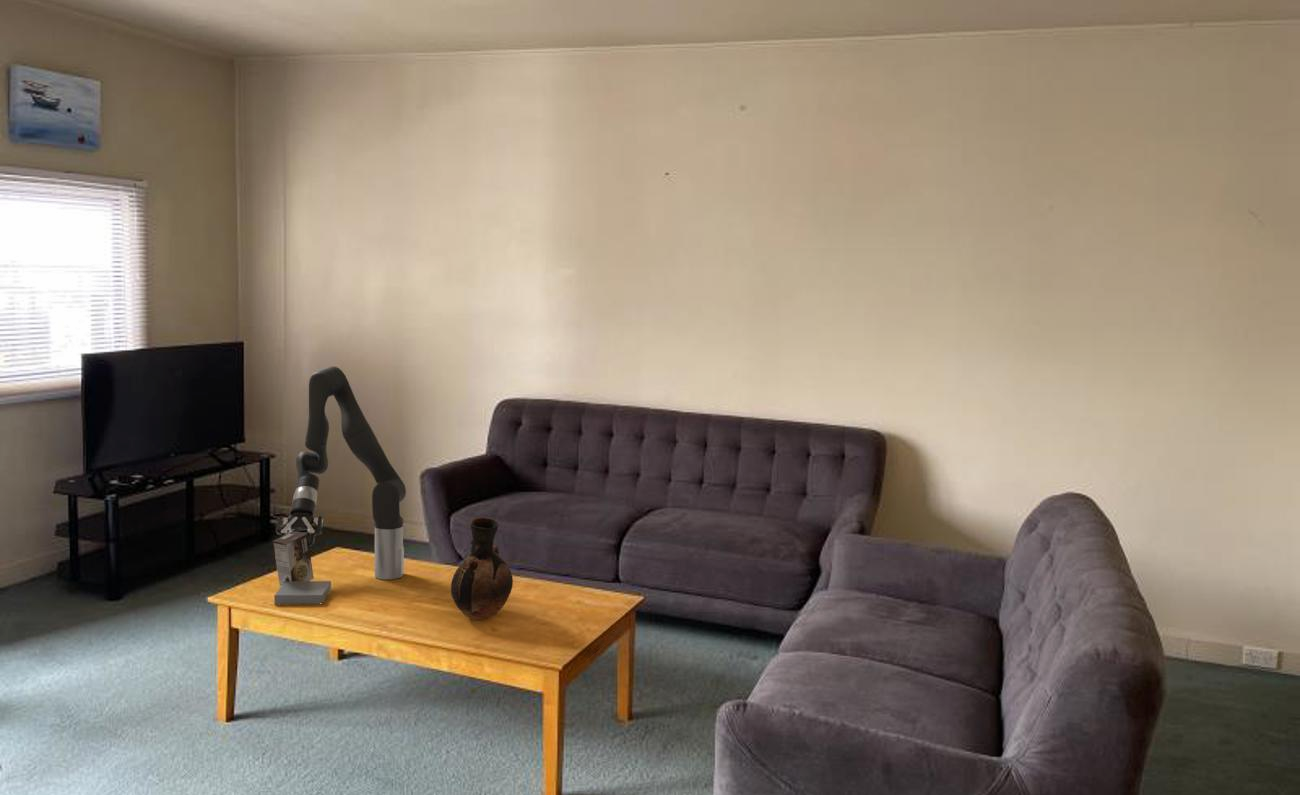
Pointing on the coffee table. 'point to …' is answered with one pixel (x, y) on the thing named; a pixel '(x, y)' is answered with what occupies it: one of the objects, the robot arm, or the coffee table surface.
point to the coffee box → (293, 557)
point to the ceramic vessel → (482, 574)
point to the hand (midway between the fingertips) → (296, 545)
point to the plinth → (302, 592)
